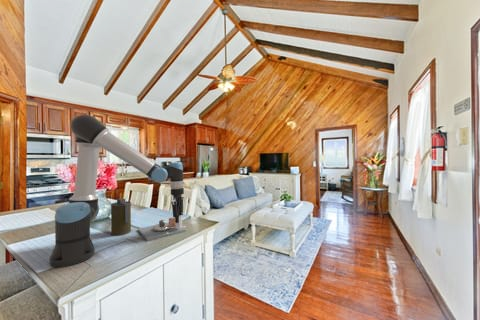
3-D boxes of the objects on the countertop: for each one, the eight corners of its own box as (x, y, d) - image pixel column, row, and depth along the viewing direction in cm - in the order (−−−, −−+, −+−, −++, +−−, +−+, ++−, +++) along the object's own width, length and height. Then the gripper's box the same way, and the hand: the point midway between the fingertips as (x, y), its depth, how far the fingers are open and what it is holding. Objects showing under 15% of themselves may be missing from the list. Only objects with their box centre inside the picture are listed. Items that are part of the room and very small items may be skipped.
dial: (151, 232, 113) (151, 222, 113) (154, 226, 123) (154, 217, 123) (178, 229, 117) (178, 220, 117) (179, 224, 127) (179, 215, 127)
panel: (147, 241, 105) (147, 238, 105) (138, 230, 120) (138, 228, 120) (189, 230, 120) (189, 228, 120) (176, 222, 135) (176, 220, 135)
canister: (106, 233, 115) (106, 199, 115) (124, 228, 124) (124, 196, 124) (118, 237, 110) (117, 201, 110) (135, 231, 119) (135, 198, 119)
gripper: (178, 189, 110) (180, 231, 111) (187, 185, 125) (189, 222, 125) (165, 190, 111) (167, 231, 111) (176, 186, 126) (177, 222, 126)
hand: (178, 226), depth 118 cm, fingers closed
